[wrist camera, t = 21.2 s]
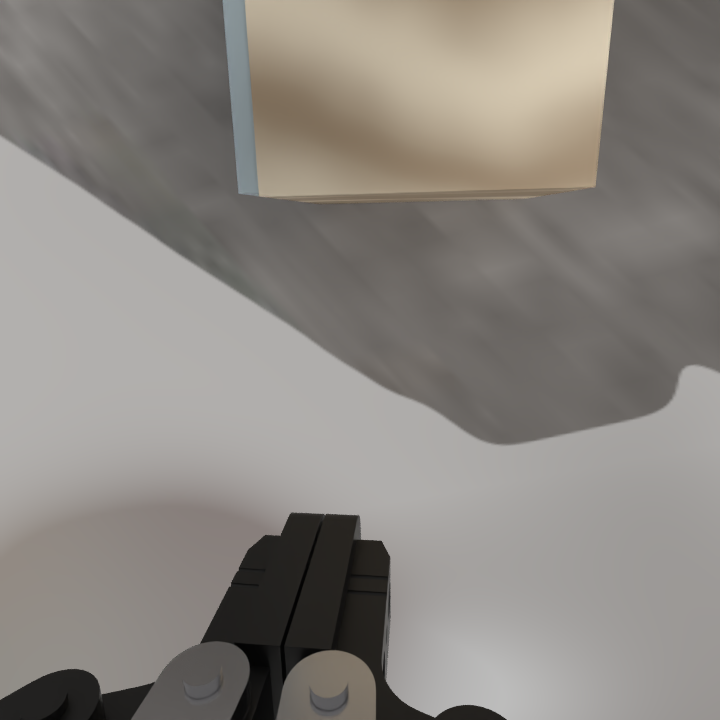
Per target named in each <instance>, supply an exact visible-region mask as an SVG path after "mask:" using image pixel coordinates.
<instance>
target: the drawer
mask: <svg viewBox="0 0 720 720" xmlns="http://www.w3.org/2000/svg"><path fill="white" fill-rule="evenodd" d="M223 12H224V24H225V36H226V48H227V60H228V72H229V84H230V96H231V108H232V120H233V132H234V144H235V156H236V168H237V180H238V192H239V194H245V195H253V196H259V189H258V175H257V162H256V148H255V134H254V120H253V107H252V93H251V79H250V66H249V52H248V38H247V24H246V11H245V0H223Z"/></svg>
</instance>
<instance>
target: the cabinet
mask: <svg viewBox="0 0 720 720" xmlns="http://www.w3.org/2000/svg"><path fill="white" fill-rule="evenodd" d="M613 6H614V0H245V11H246V24H247V38H248V52H249V66H250V79H251V93H252V107H253V120H254V134H255V148H256V162H257V175H258V189H259V196H260V197H268V198H276V199H283V200H291V201H299V202H307V203H315V204H343V203H382V202H421V201H460V200H498V199H527V198H533V197H539V196H545V195H551V194H557V193H563V192H569V191H574V190H580V189H586V188H592V187H595V184H596V174H597V164H598V155H599V145H600V135H601V125H602V115H603V105H604V95H605V85H606V75H607V66H608V56H609V46H610V36H611V26H612V16H613Z"/></svg>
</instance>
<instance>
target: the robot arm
mask: <svg viewBox="0 0 720 720" xmlns="http://www.w3.org/2000/svg"><path fill="white" fill-rule="evenodd" d="M360 529H361V528H360V516H359V515H358V516H357V515H337V514H326V515H324V514H311V513H291V514H290V515H289V517H288V520H287V522H286V524H285V526H284V529H283V531H282V533H281V536H272V535H265V536H264V537H262V538H261V539H260V540H259V541H258V542H257V543H256V544H254V545H253V546H252V547H251V548H250V549H249V550H248V551H247V553H246V555H245V557H244V559H243V561H242V563H241V565H240V567H239V571H238V572H237V573H236V575H235V576H234V578H233V580H232V582H231V587H229V588H228V591H227V592H226V594H225V596H224V598H223V600H222V602H221V604H220V606H219V608H218V610H217V612H216V614H215V616H214V618H213V620H212V621H211V623H210V626H209V627H208V629H207V631H206V633H205V635H204V637H203V639H202V641H201V643H200V644H199V645H196V646H193V647H191V648H189V649H187V650H185V651H183V652H182V653H180V654H179V655H178V656H176V657H175V658H174V659H173V660H172V661H171V662H170V663H169V664H168V665H167V666H166V667H165V668H164V670H163V671H162V673H161V674H160V676H159V677H158V679H157V680H156V682H153V683H151V684H147V685H143V686H139V687H135V688H130V689H126V690H121V691H116V692H111V693H107V694H102V695H101V691H100V686H99V683H98V680H97V679H96V678H95V677H94V675H92V674H91V673H89V672H87V671H84V670H79V669H67V670H61V671H57V672H54V673H50V674H48V675H45V676H43V677H41V678H39V679H37V680H35V681H33V682H31V683H29V684H28V685H26V686H24V687H22V688H20V689H19V690H17V691H15V692H13V693H12V694H10V695H8V696H6V697H5V698H3V699H1V700H0V720H506V719H505V718H504V717H502V716H501V715H499V714H497V713H496V712H493V711H492V710H489V709H486V708H483V707H479V706H474V705H461V706H456V707H452V708H449V709H447V710H445V711H444V712H442V713H440V714H439V715H438V716H437V717H436V718H434V717H432V716H430V715H427V714H425V713H423V712H420V711H418V710H416V709H414V708H412V707H410V706H408V705H407V704H405V703H404V702H402V701H401V700H400V699H399V698H398V697H397V696H396V695H395V694H394V693H393V692H392V690H391V689H390V688H389V686H388V684H387V682H386V674H387V658H388V646H389V630H390V617H391V616H390V556H389V554H388V552H387V550H386V549H385V547H384V545H383V543H382V541H374V540H361V533H360V532H361V530H360Z"/></svg>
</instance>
